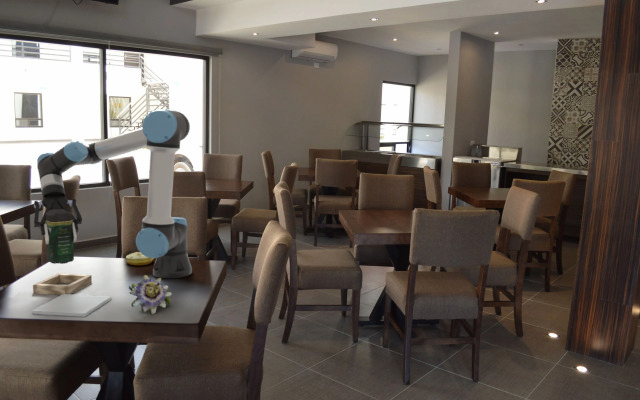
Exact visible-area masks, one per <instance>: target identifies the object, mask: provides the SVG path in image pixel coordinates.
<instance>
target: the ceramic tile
mask: <svg viewBox="0 0 640 400" xmlns="http://www.w3.org/2000/svg"><path fill="white" fill-rule="evenodd" d="M111 300H112V296H109V295H108V296H107V295H105V296H104V295H87V294H73V293H72V294H62V295H59V296H58V295H57V297H55V298H53V299H51V300H49V301H48V302H45V303H43V304H42V305H39V306H38V307H36V308H34V309H32V310H31V314H32V315H45V316H47V315H48V316H65V317H66V316H67V317H81V318H82V317H83V318H85V317H87V316H88V315H90V314H91V313H94V312H95V311H96V310H97V309H99V308H100V307H102V306H104V305H105V304H107V303H108V302H109V301H111Z"/></svg>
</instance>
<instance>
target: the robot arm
mask: <svg viewBox="0 0 640 400" xmlns="http://www.w3.org/2000/svg"><path fill="white" fill-rule="evenodd" d="M141 126H142V127H139V128H137V129H134V130H130V131H127V132H124V133H121V134H118V135H115V136H111V137H108V138H106V139H102V140H97V141H95V142H92V143H88V144H84V143H83V142H80V141H79V140H73V141H70V142H69V143H67V144H66V145H64V146H63V147H62V148H60V149H58V150H57V151H56V152H54V153H53V152H45V153H42V154H40V155H39V156H38V157H37V162H36V163H37V170H38V176H39V183H40V189H41V196H42V200H41V201H38V200H34V201H33V208H34V220H33V228H39V230H40V235H41V236H44V239H45V240H44V241H45V245H47V244H49V236H48V230H47V224H46V213H47V212H48V211H49V210H53V209H62V210H64V211H67V212H70V213H72V220H73V243H74V242H77V237H78V236H77V233H78V232H79V226H78V225H82V223H83V217H82V214H81V213H80V211H79V208H78V206H77V199H76V198H73V199H72V200H70V199H68V198H67V196H66V192H65V186H64V181H63V173H65V172H67V171H68V170H70V169H71V168H73V167H74V166H82V165H83V166H84V165H95V164H98V163H100V162H102V161H105V160H107V159H111V158H114V157H118V156H121V155H125V154H128V153H130V152H135V151H138V150H141V149H143V148H148V149H149V151H150V153H149V154H150V155H149V156H150V157H149V170H148V171H149V172H148V174H149V175H148V191H147V206H146V215H145V217H143V218H142V220H141V230H139V232H138V233H137V235H136V237H135V244H136V245H135V246H136V248H137V250H138V252H141V253H142V254H143V255H144V256H146V257H149V258H154V259H155V261H154V264H153V268H152V276H153V277H156V278H161V279H179V278H184V277H187V276H190V275H192V273H193V272H192V271H193V267H192V264H191V261H190V259H189V256H188V221H187V219H186V218H185V217H174V216H172V205H173V192H174V191H173V188H174V187H173V186H174V177H175V176H174V174H175V172H174V171H175V157H176V153H177V152H178V151H180V148H181V141H183V140H184V139H186V138H187V136H189V133H190V129H191V128H190V126H191V125H190V121H189V119H188V118H187V116H186V115H185V114H183V113H182V112H180V111H176V110H170V109H165V108H164V109H156V110H153V111H150V112H149V113H148V114H147V115H145V117H144V119H143V121H142V125H141ZM67 205H69V207H71V210H72V212H71V211H70V210H69V208H68V207H67ZM41 207H44V208H45V211H44V214H43V215H42V217H41V220H40V221H39V218H40V217H39V215H40V209H41Z"/></svg>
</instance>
